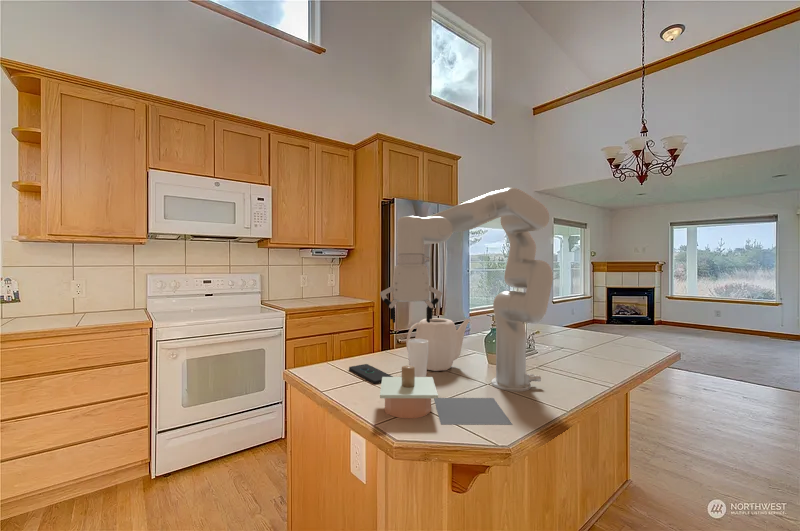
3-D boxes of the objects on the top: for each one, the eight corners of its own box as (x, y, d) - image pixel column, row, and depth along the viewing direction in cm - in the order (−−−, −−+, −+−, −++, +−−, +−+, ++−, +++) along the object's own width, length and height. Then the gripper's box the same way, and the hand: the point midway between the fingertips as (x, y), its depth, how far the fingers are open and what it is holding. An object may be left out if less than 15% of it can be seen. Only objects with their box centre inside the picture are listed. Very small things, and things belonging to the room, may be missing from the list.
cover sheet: (432, 379, 107) (432, 360, 107) (438, 398, 92) (438, 375, 92) (382, 379, 107) (382, 360, 107) (379, 398, 92) (379, 375, 92)
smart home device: (367, 363, 142) (394, 376, 125) (367, 367, 142) (394, 381, 125) (348, 366, 137) (374, 380, 121) (348, 371, 137) (374, 386, 121)
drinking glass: (426, 389, 116) (427, 343, 116) (406, 388, 117) (406, 342, 117) (429, 383, 122) (429, 339, 122) (409, 381, 124) (410, 338, 124)
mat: (493, 399, 108) (493, 397, 108) (512, 426, 90) (512, 424, 90) (433, 399, 108) (433, 397, 108) (440, 426, 90) (440, 424, 90)
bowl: (428, 401, 106) (428, 380, 106) (432, 419, 93) (432, 396, 93) (385, 401, 106) (385, 380, 106) (384, 419, 93) (384, 396, 93)
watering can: (479, 370, 137) (479, 321, 137) (412, 375, 130) (412, 323, 130) (462, 360, 152) (462, 315, 152) (401, 364, 145) (401, 317, 145)
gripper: (440, 260, 104) (440, 319, 104) (380, 261, 104) (380, 320, 104) (443, 260, 97) (443, 324, 97) (379, 260, 96) (379, 324, 97)
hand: (411, 321), depth 100 cm, fingers open, 9 cm apart
